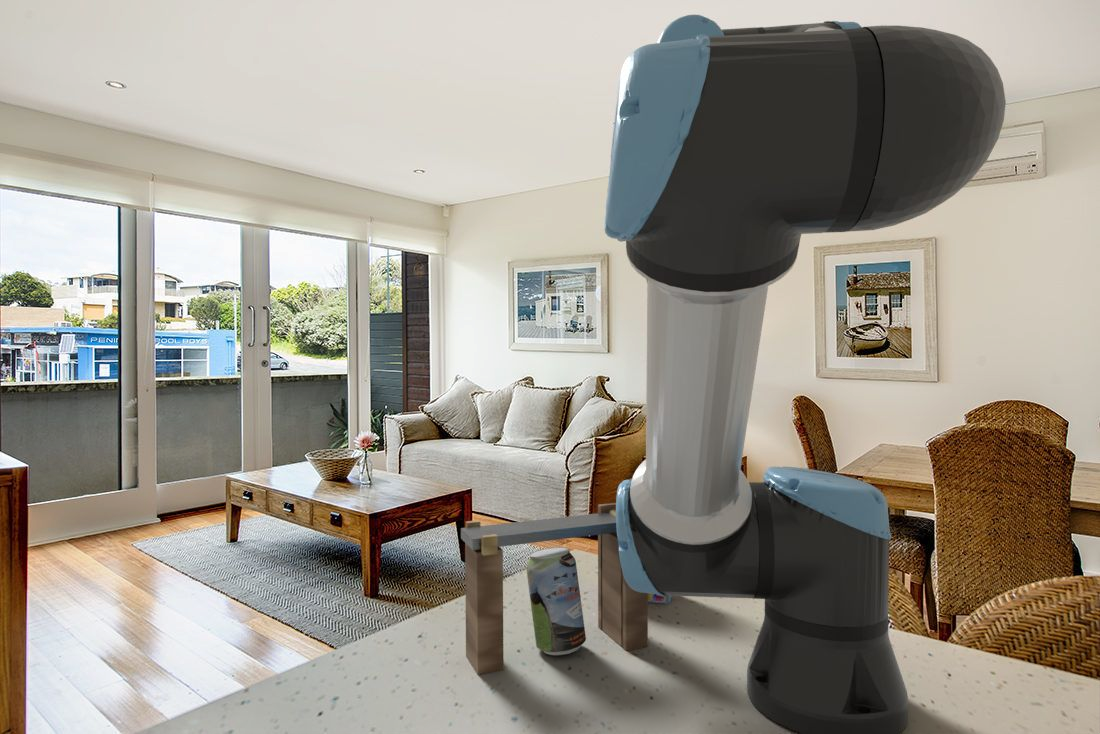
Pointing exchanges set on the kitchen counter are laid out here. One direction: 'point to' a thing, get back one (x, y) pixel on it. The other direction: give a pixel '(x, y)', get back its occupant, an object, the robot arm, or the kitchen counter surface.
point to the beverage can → (555, 601)
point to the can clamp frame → (484, 600)
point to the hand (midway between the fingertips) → (680, 362)
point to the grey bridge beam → (542, 529)
